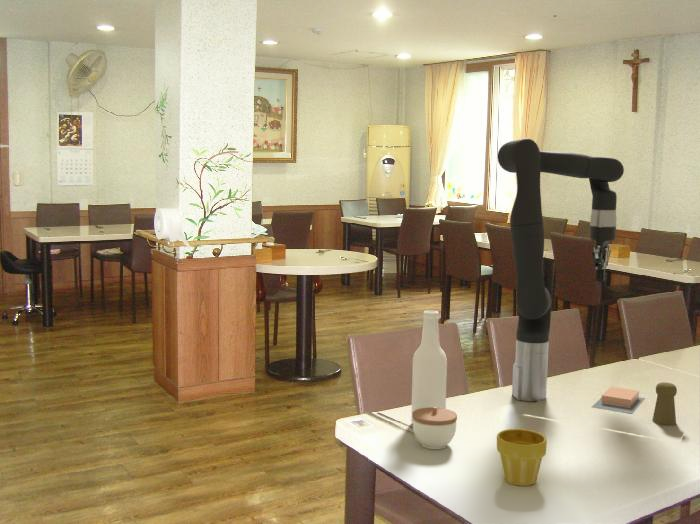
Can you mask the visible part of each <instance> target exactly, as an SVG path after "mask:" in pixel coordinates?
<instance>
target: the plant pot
mask: <svg viewBox="0 0 700 524" xmlns="http://www.w3.org/2000/svg"><path fill="white" fill-rule="evenodd" d="M547 444H548V443H547V437H546V436H545V434H543V433H541V432H538V431H535V430H531V429H524V428H509V429H504V430H501V431H499V432H498V433H497V435H496V450H497V452H498V453H499V454H500V461H501V466H502V470H503V477H504V480H505V481H506V482H507V483H508V484H511V485H514V486H518V487H519V486H520V487H522V486H523V487H528V486H533V485H534V484H536V483H537V480H538V476H539V471H540V467H541V464H542V460H543V457H545V456H546V454H547Z"/></svg>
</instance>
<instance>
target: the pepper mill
mask: <svg viewBox="0 0 700 524" xmlns="http://www.w3.org/2000/svg"><path fill="white" fill-rule="evenodd" d="M655 392H656V395H657V396H656V401H655V406H654V412H653V416H652V423H654V424H656V425H661V426H666V427H667V426H668V427H671V426H675V425H677V417H676V406H675V405H676V402H675V397H676V395H677V393H678V388H677V386H676V385H675V384H674V383H672V382H671V383H670V382H665V381H664V382H663V381H662V382H659V383H657V384H656V386H655Z"/></svg>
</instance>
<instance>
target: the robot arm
mask: <svg viewBox="0 0 700 524" xmlns="http://www.w3.org/2000/svg"><path fill="white" fill-rule="evenodd" d="M497 162H498V165H499V166H500V168H502V170H504V171H505V172H508V173H512V174H513V173H514V174H516V185H517V187H516V188H517V189H516V196H515V200H514V203H513V206H512V209H511V211H510V217H509V224H510V236H511V237H510V238H511V244H512V245H511V247H512V253H513V259H514V260H513V261H514V263H515V270H516V272H515V273H516V298H515V300H516V301H515V303H516V304H515V306H516V308H517V310H518V322H517V327H516V333H515V335H516V336H515V338H516V340H515V360H514V361H515V362H513V364H512V383H511V384H512V385H511V394H512V396H513V397H514V398H515V399H516V400H517V401H525V402H538V401H543V400H546V399H547V393H548V391H547V387H548V385H547V384H548V383H547V382H548V363H549V362H548V361H549V343H550V342H549V339H550V331H551V317H552V296H551V293H550V292H549V290H548V289H547V287H546V286H545V281H544V273H543V261H544V253H545V252H544V251H545V232H544V231H545V229H544V219H543V212H542V211H543V210H542V195H541V193H542V191H541V173H546V174H554V175H558V176H563V177H569V178H577V179H588V181H589V186H590V191H591V195H592V200H591V213H590V218H589V219H590V220H589V222H590V224H589V240H590V241H595V246H593V252H592V254H591V255H592V261H593V267H594V268H595V270H596V272H595V275H596V277H595V281H596V282H604V281H605V279H606V270H607V267H608V264H609V260H610V255H611V252H612V250H611V247H610V246H609V245H610V243H609V242H613V241H616V236H617V235H616V234H617V233H616V232H617V199H618V197H617V193H616V191H614V190H613V189H610V184H609V183H613V182H617V181H619V180H620V179H621V178H622V177H623V175H624V172H625V167H624V165H623V163H622V162H621V161H620V160H618V158H617V159H616V158H613V157H604V156H593V155H592V156H591V155H587V154H583V153H577V152H570V151H547V150H546V151H543V150H540V148H539V145H538V144H537V142H535V141H534V140H533V139H531V138H521V139H516V140H510V141H508V142H505V143H504V144H502V146H501V147H500V148H499V150H498V152H497Z"/></svg>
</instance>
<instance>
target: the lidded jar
mask: <svg viewBox="0 0 700 524" xmlns="http://www.w3.org/2000/svg"><path fill="white" fill-rule="evenodd" d="M411 414H412V418H413V423H412V430H413V433H414V437H415V439H416V440H417V441H418V443H420V446H421V447H423V448H424V449H429V450H441V449H442V450H443V449H445V448H446V447H448V446H447V445H448V444H450V443H451V442H452V440H453V439H454V436H455V435H456V434H455V433H456V429H457V421H458V415H457V413H456V412H455V411H453V410H450V409H447V408H446V409H444V408H437V407H429V408H421V409H417V410H415V411H414V412H413V413H412V412H411Z"/></svg>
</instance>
